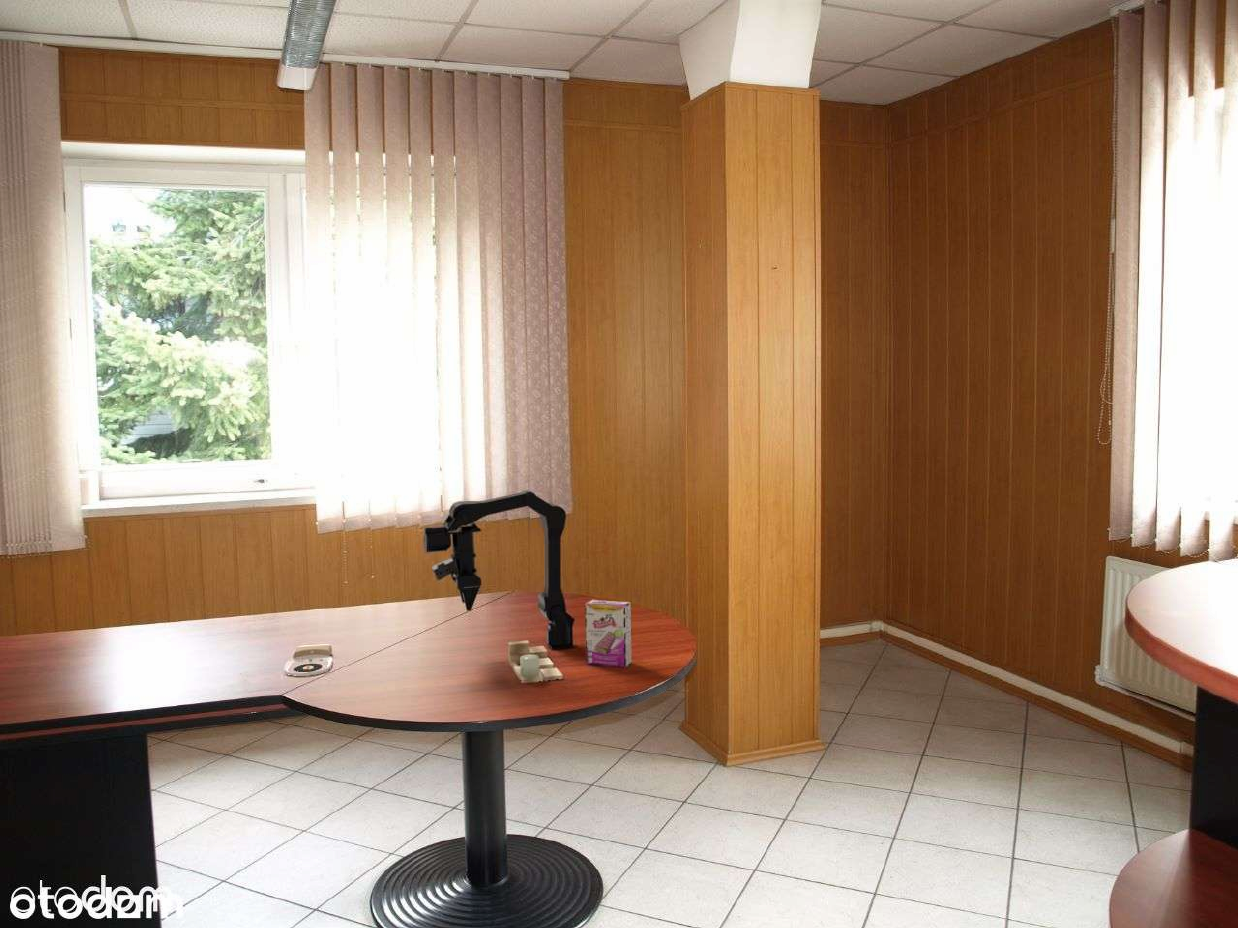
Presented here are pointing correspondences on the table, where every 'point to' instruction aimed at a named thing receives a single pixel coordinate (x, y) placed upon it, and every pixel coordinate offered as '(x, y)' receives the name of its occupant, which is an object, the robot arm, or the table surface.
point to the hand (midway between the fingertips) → (466, 606)
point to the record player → (310, 659)
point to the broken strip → (545, 664)
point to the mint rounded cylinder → (529, 666)
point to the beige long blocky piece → (515, 653)
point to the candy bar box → (608, 633)
